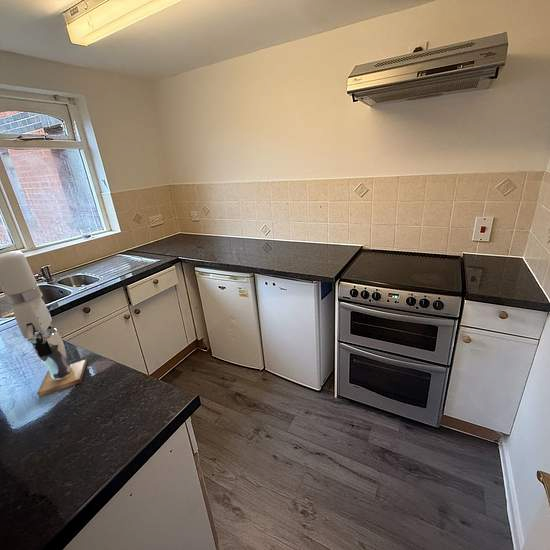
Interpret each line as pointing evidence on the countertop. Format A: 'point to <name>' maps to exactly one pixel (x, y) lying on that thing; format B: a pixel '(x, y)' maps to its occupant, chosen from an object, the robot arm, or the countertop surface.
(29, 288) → the robot arm
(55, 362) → the beer glass
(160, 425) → the countertop surface
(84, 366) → the board
